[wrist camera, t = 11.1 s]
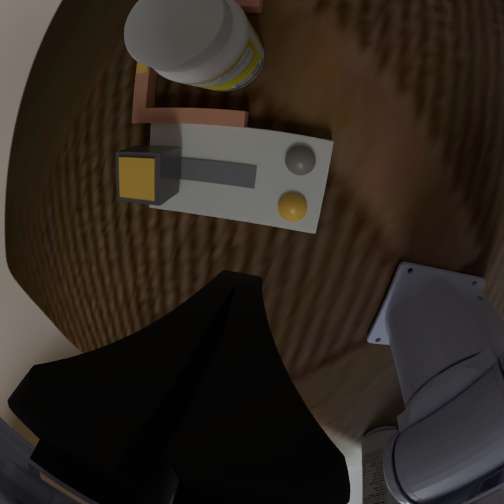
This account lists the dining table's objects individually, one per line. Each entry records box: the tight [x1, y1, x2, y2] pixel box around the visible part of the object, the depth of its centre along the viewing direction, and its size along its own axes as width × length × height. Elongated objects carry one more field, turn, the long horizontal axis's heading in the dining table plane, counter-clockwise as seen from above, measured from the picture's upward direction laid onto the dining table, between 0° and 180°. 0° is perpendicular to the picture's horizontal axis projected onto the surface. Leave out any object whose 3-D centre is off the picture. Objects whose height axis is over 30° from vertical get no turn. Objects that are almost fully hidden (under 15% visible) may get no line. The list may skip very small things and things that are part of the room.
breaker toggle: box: [116, 145, 181, 206], centre depth 16 cm, size 3×3×3 cm
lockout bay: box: [132, 0, 263, 128], centre depth 14 cm, size 8×9×1 cm
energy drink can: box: [361, 426, 401, 504], centre depth 24 cm, size 6×6×15 cm
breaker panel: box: [150, 123, 333, 234], centre depth 17 cm, size 12×6×1 cm, turn 84°
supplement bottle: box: [124, 0, 264, 91], centre depth 10 cm, size 5×5×8 cm
